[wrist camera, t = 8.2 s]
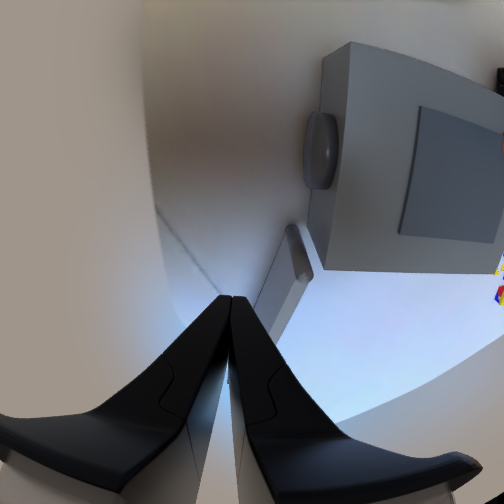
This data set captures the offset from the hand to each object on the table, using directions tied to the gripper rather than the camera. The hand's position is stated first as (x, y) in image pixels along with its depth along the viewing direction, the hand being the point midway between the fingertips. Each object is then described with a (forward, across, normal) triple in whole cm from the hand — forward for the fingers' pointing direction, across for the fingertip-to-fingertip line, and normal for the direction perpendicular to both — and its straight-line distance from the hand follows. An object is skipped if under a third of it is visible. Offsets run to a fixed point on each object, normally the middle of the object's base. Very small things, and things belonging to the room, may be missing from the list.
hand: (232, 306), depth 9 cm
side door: (+12, -2, +9) cm, 15 cm away
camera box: (+12, -11, -4) cm, 17 cm away
